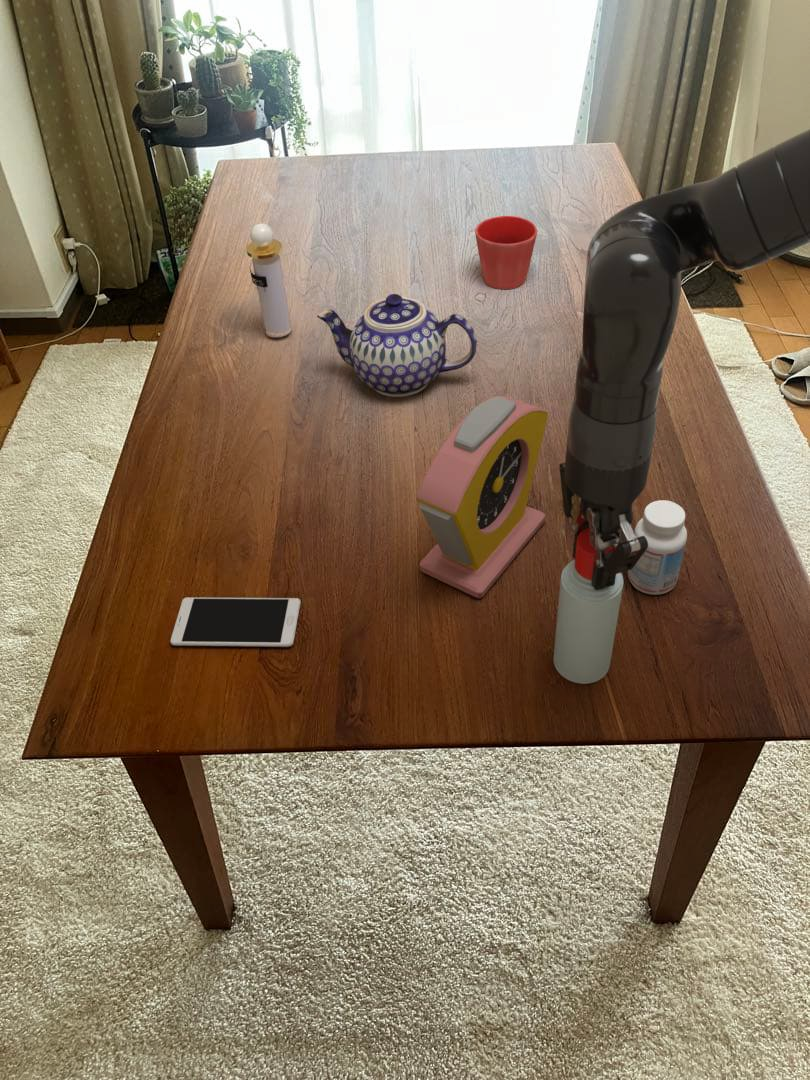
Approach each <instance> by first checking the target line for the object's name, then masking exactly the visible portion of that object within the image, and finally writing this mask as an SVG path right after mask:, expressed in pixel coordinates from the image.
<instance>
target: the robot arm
mask: <svg viewBox="0 0 810 1080" xmlns="http://www.w3.org/2000/svg"><path fill="white" fill-rule="evenodd" d="M809 243H810V128H809V129H807V130H804V131H802V132H801V133H798V134H796V135H794V136H792V137H790V138H788V139H786V140H784V141H782V142H780V143H778V144H776V145H774V146H772V147H770V148H769V149H766V150H765V151H762V152H761V153H759V154H756V155H754V156H753V157H750V158H749V159H747V160H745V161H743V162H741V163H739V164H737V165H736V166H733V167H732V168H730V169H728V170H726V171H724V172H723V173H721V174H720V175H718V176H716V177H714V178H711V179H707V180H704V181H701V182H695V183H691V184H688V185H683V186H681V187H678V188H674V189H672V190H667V191H665V192H662V193H658V194H656V195H652V196H649V197H646V198H643V199H641V200H638V201H636V202H634V203H631V204H629V205H628V206H625V207H624V208H622V209H621V210H619V211H618V212H616V213H614V214H613V215H612V216H610V217H609V218H608V219H606V220H605V221H604V222H603V223H602V224H600V225H599V227H598V228H597V230H596V231H595V232H594V234H593V236H592V237H591V240H590V242H589V244H588V248H587V254H586V268H585V277H584V278H585V279H584V292H583V293H584V294H583V312H582V313H583V314H582V343H581V347H580V349H579V350H580V351H579V353H578V359H577V366H576V376H575V382H574V383H575V384H574V395H573V402H572V406H571V409H570V414H569V418H568V427H567V428H568V429H567V430H568V431H567V438H566V439H567V441H566V451H565V461H564V462H561V463H559V474H560V475H559V476H560V486H561V496H562V506H563V514H564V516H565V518H567V519H570V518H571V523H570V528H571V531H572V533H573V534H574V536H573V545H572V546H573V547H572V559H573V560H575V555H576V546H577V537H578V535H579V533H580V532H581V531H583V530H584V529H587V528H589V532H590V544H591V545H592V546H593V547H594V548H595V561H594V567H593V575H592V582H591V585H592V586H593V588H594V589H595V590H601V589H604V588H608V587H611V586H613V585H614V584H615V578H616V574H618V573H621V574H622V573H624V572H628V570H631V569H633V567H634V566H635V564H636V563H637V562H638V560H639V559H640V557H641V556H642V555H643V553H644V552H645V551H646V549H647V548H648V542H647V539H646V538H645V537H644V536H641V537H636V536H635V534H634V532H635V531H634V529H633V528H632V526H631V525H632V524H633V521H634V515H633V514H634V513H633V504H634V502H635V501H636V500H637V498H638V497H639V496H640V495H641V494H642V493H643V491H644V489H645V488H646V485H647V482H648V477H649V470H650V466H651V458H652V454H653V448H654V442H655V436H656V431H657V419H658V418H657V417H658V413H657V411H658V401H659V397H660V396H659V395H660V390H661V385H662V379H663V378H662V377H663V372H664V360H665V357H666V354H667V351H668V348H669V345H670V342H671V339H672V336H673V333H674V330H675V326H676V322H677V317H678V313H679V307H680V301H681V294H682V273H683V272H686V271H688V270H691V269H694V268H698V267H700V266H704V265H708V264H710V263H714V262H717V261H718V262H720V263H721V265H722V266H723V267H724V268H726V269H728V270H730V271H735V272H736V271H737V272H741V271H746V270H750V269H753V268H755V267H758V266H760V265H763V264H765V263H767V262H769V261H771V260H772V259H776V258H778V257H780V256H782V255H785V254H788V253H789V252H792V251H794V250H796V249H798V248H800V247H802V246H804V245H806V244H809ZM600 535H602V536H600ZM612 546H613V551H612V552H609V553H605V549H606V548H609V547H612Z"/></svg>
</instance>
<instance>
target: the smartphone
mask: <svg viewBox="0 0 810 1080" xmlns="http://www.w3.org/2000/svg"><path fill="white" fill-rule="evenodd" d="M301 603H302V602H301V599H300V598H297V597H198V596H197V597H195V596H194V597H189V596H188V597H184V598H183V599H182V601H181V603H180V607H179V610H178V614H177V617H176V619H175V623H174V627H173V630H172V633H171V636H170V641H169V642H170V644H171V645H172V646H174V647H243V648H244V647H249V648H250V647H251V648H253V647H254V648H255V647H256V648H260V647H262V648H289V647H290V648H291V647H292V646H293V645H294V641H295V636H296V631H297V627H298V626H297V625H298V620H299V615H300V609H301Z"/></svg>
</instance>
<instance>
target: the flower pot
mask: <svg viewBox="0 0 810 1080" xmlns="http://www.w3.org/2000/svg"><path fill="white" fill-rule="evenodd" d="M474 234H475V241H476V248H477V251H478V252H477V253H478V257H479V262H480V268H481V272H482V277H483V281H484V282H485V284H486V285H487V286H489V287H491V288H494V289H497V290H502V289H503V290H512V289H516V288H518V287H521V286H522V285H524V283H525V282H526V280H527V277H528V273H529V269H530V266H531V261H532V257H533V252H534V248H535V244H536V239H537V236H538V229H537V225H535V224H534V223H533V222H532V221H531V220H529V219H527V218H524V217H522V216H521V217H520V216H515V215H499V216H494V217H489V218H486V219H485V220H483V221H481V222H480V223H478V224H477V225H476V227H475V229H474Z"/></svg>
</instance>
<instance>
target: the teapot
mask: <svg viewBox="0 0 810 1080" xmlns="http://www.w3.org/2000/svg"><path fill="white" fill-rule="evenodd" d="M316 317H317V318H318V319H320V320H321V321H323V322H324V323H325V324H327V326H328V328H329V329H330V331H331V334H332V337H333V341H334V344H335V347H336V349H337V352H338V354H339V356H340V358H341V359H342V361H344V362H345V363H346V364H347V365H348V366H350V367H352V368H353V369H354V371H355V373H356V375H357V377H358V378H359V380H361V381H362V382H363V383H364V384H365V385H366V386H368V387H369V388H371V389H372V390H375V391H376V392H377V393H378V394H381V395H383V396H387V397H392V398H402V397H403V398H404V397H409V396H413V395H415V394H419V393H420V392H421V391H423V390H425V388H426V387H428V385H429V384H431V382H432V381H434V380H435V379H436V378H437V377H438V375H439V374H442V373H446V372H450V371H455V370H459V369H461V368H463V367H465V366H467V365H468V364H470V363H471V362H472V360H473V359H474V357H475V355H476V354H477V344H478V341H477V335H476V332H475V330H474V328H473V326H472V324H471V323H470V322H469V321H468V320H467V319H466V318H465V317H464V316H462V315H461V314H458V313H453V314H450V315H449V316H447V317H445V318H444V319H443V320H441V321H440V320H439V318H438V317H437V316H436V315H435V313H433V312H432V311H431V310H429V309H427V308H426V306H425V304H424V303H423V302H422V301H420V300H418V299H416V298H412V297H407V296H401V295H399V294H397V293H391V294H389V295H387V296H386V297H385V298H381V299H379V300H376V301H374V302H373V303H371V304H370V305H368V306H367V307H366V309H365V311H364V313H363V314H362V316H360V317H359V319H358V320H357V322H356V323H355V325H354V327H353V329H350V328H349V327H347V326H346V325H345V322H344V321H343V320H342V318H341V317H340V316H339V315H338V313H337V312H336V311H335V310H333V309H327V310H322V311H321V312H319V313H318V314H317V315H316ZM452 324H455V325H458V326H459V327H460V328H462V329H463V330H464V332H466V334H467V337H468V338H469V340H470V349H469V351H468V353H467V354H466V355H465V356H464V357H462V358H460V359H459V360H453V361H450V360H448V359H447V358H446V351H447V350H446V349H447V348H446V347H447V345H446V333H447V330H448V327H449V326H450V325H452Z"/></svg>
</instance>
